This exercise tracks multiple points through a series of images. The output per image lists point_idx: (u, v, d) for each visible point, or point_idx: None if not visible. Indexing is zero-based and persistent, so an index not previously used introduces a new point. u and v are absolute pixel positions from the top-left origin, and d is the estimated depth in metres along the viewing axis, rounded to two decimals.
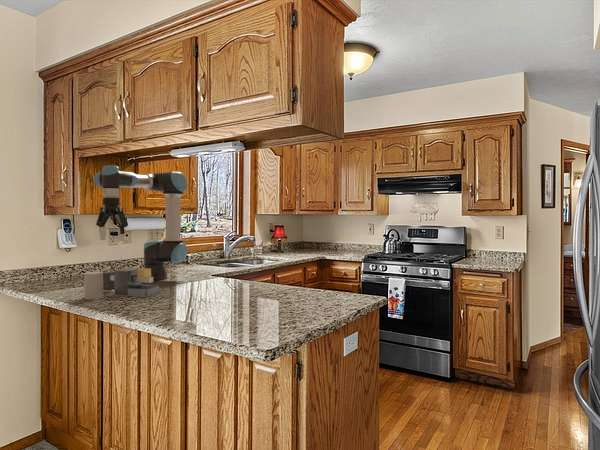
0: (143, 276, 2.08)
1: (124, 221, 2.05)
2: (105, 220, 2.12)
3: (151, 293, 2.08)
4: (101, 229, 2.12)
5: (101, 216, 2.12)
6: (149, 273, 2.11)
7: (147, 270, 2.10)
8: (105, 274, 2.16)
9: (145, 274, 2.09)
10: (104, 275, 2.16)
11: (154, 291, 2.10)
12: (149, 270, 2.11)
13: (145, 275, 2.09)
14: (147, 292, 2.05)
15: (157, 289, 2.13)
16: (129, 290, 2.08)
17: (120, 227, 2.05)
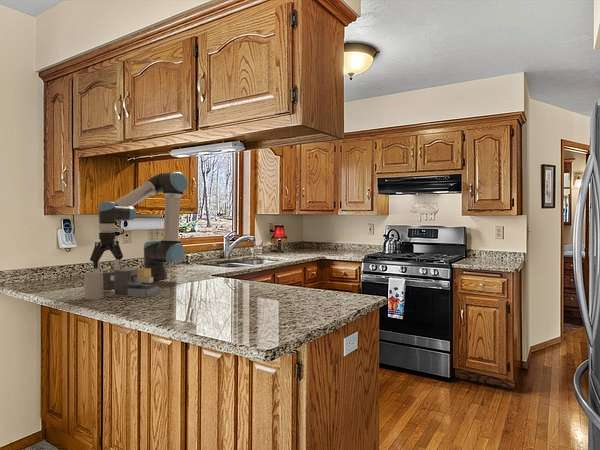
0: (143, 276, 2.08)
1: (92, 256, 2.08)
2: (114, 253, 2.22)
3: (151, 293, 2.08)
4: (115, 261, 2.24)
5: (116, 249, 2.24)
6: (149, 273, 2.11)
7: (147, 270, 2.10)
8: (105, 274, 2.16)
9: (145, 274, 2.09)
10: (104, 275, 2.16)
11: (154, 291, 2.10)
12: (149, 270, 2.11)
13: (145, 275, 2.09)
14: (147, 292, 2.05)
15: (157, 289, 2.13)
16: (129, 290, 2.08)
17: None
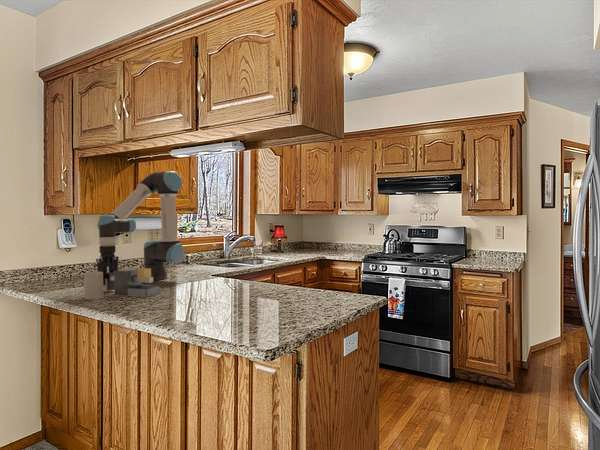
0: (143, 276, 2.08)
1: None
2: (110, 268, 2.20)
3: (151, 293, 2.08)
4: None
5: None
6: (149, 273, 2.11)
7: (147, 270, 2.10)
8: None
9: (145, 274, 2.09)
10: None
11: (154, 291, 2.10)
12: (149, 270, 2.11)
13: (145, 275, 2.09)
14: (147, 292, 2.05)
15: (157, 289, 2.13)
16: (129, 290, 2.08)
17: (103, 278, 2.16)
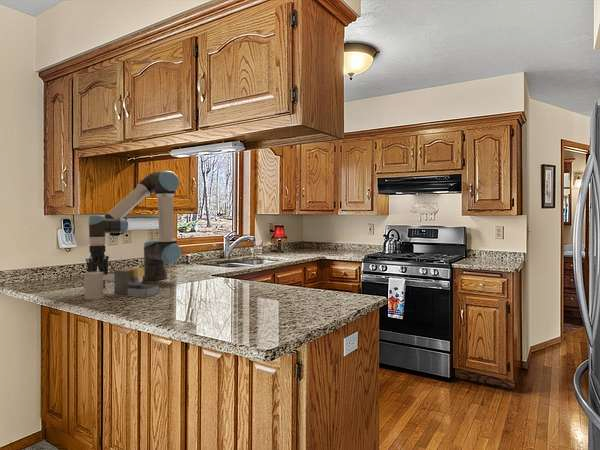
0: (136, 276, 2.09)
1: None
2: (100, 268, 2.22)
3: (151, 293, 2.08)
4: None
5: None
6: (142, 273, 2.13)
7: (140, 270, 2.11)
8: None
9: (139, 274, 2.10)
10: None
11: (154, 291, 2.10)
12: (142, 270, 2.13)
13: (139, 274, 2.10)
14: (147, 292, 2.05)
15: (157, 289, 2.13)
16: (129, 290, 2.08)
17: None
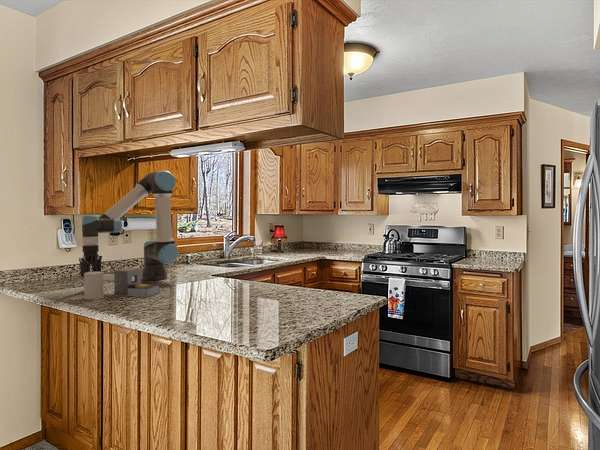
0: None
1: (82, 273, 2.16)
2: (94, 268, 2.23)
3: (151, 293, 2.08)
4: None
5: None
6: None
7: None
8: None
9: None
10: None
11: (154, 291, 2.10)
12: None
13: None
14: (147, 292, 2.05)
15: (157, 289, 2.13)
16: (129, 290, 2.08)
17: None
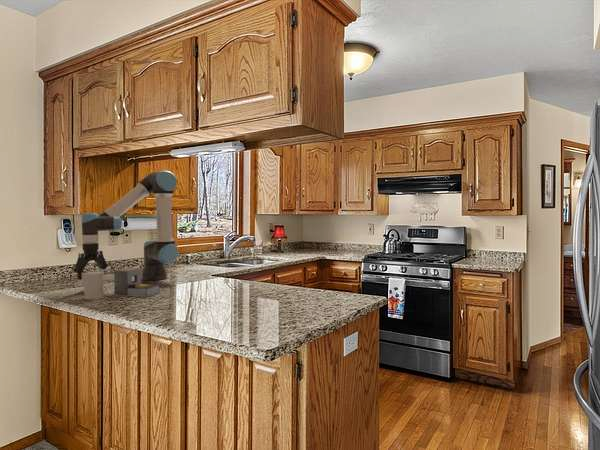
0: None
1: (76, 267, 2.12)
2: (98, 263, 2.26)
3: (151, 293, 2.08)
4: (99, 271, 2.28)
5: (100, 259, 2.28)
6: None
7: None
8: None
9: None
10: None
11: (154, 291, 2.10)
12: None
13: None
14: (147, 292, 2.05)
15: (157, 289, 2.13)
16: (129, 290, 2.08)
17: None
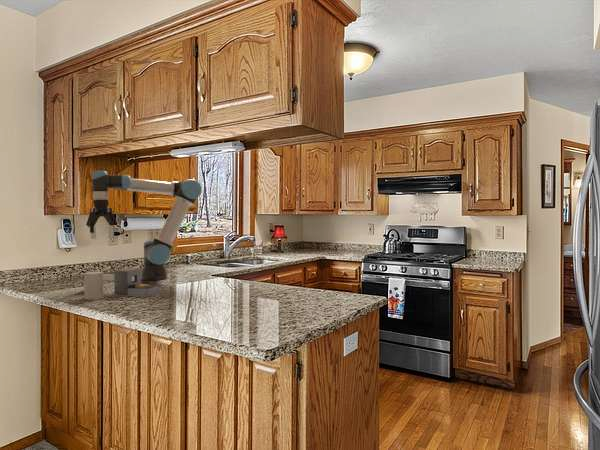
0: None
1: (88, 221, 2.24)
2: (108, 219, 2.38)
3: (151, 293, 2.08)
4: (109, 227, 2.40)
5: None
6: None
7: None
8: None
9: None
10: None
11: (154, 291, 2.10)
12: None
13: None
14: (147, 292, 2.05)
15: (157, 289, 2.13)
16: (129, 290, 2.08)
17: None
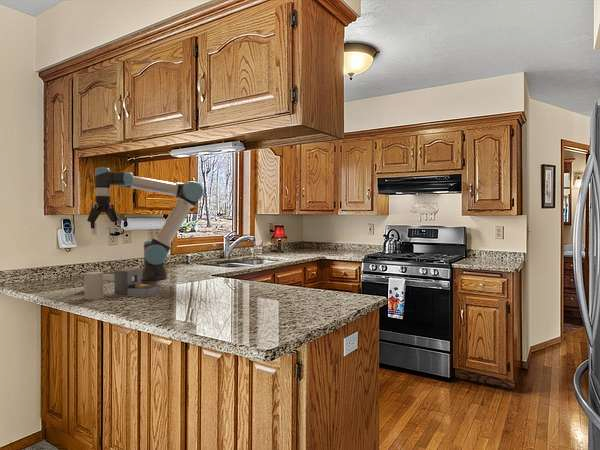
0: None
1: (89, 217, 2.27)
2: (109, 216, 2.41)
3: (151, 293, 2.08)
4: (110, 223, 2.43)
5: (111, 212, 2.43)
6: None
7: None
8: None
9: None
10: None
11: (154, 291, 2.10)
12: None
13: None
14: (147, 292, 2.05)
15: (157, 289, 2.13)
16: (129, 290, 2.08)
17: None
